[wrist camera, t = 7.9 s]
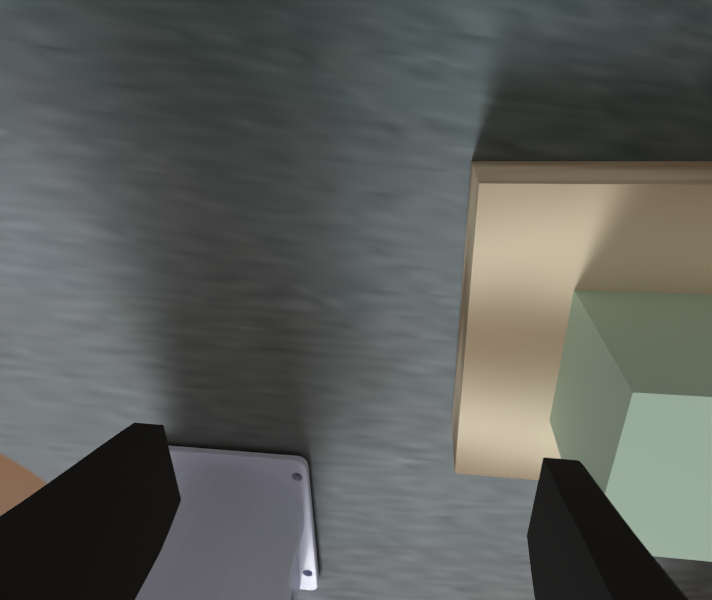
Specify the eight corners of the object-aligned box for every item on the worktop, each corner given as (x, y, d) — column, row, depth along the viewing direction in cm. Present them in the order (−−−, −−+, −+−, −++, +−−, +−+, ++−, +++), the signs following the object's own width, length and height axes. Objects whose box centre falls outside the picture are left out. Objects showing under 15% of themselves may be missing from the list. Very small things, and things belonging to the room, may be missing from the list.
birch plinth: (730, 439, 20) (775, 499, 17) (452, 420, 22) (454, 473, 19) (843, 161, 15) (930, 185, 13) (471, 160, 17) (479, 183, 14)
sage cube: (706, 430, 17) (805, 570, 12) (549, 420, 17) (589, 550, 13) (757, 295, 14) (901, 407, 10) (573, 289, 15) (632, 392, 11)
